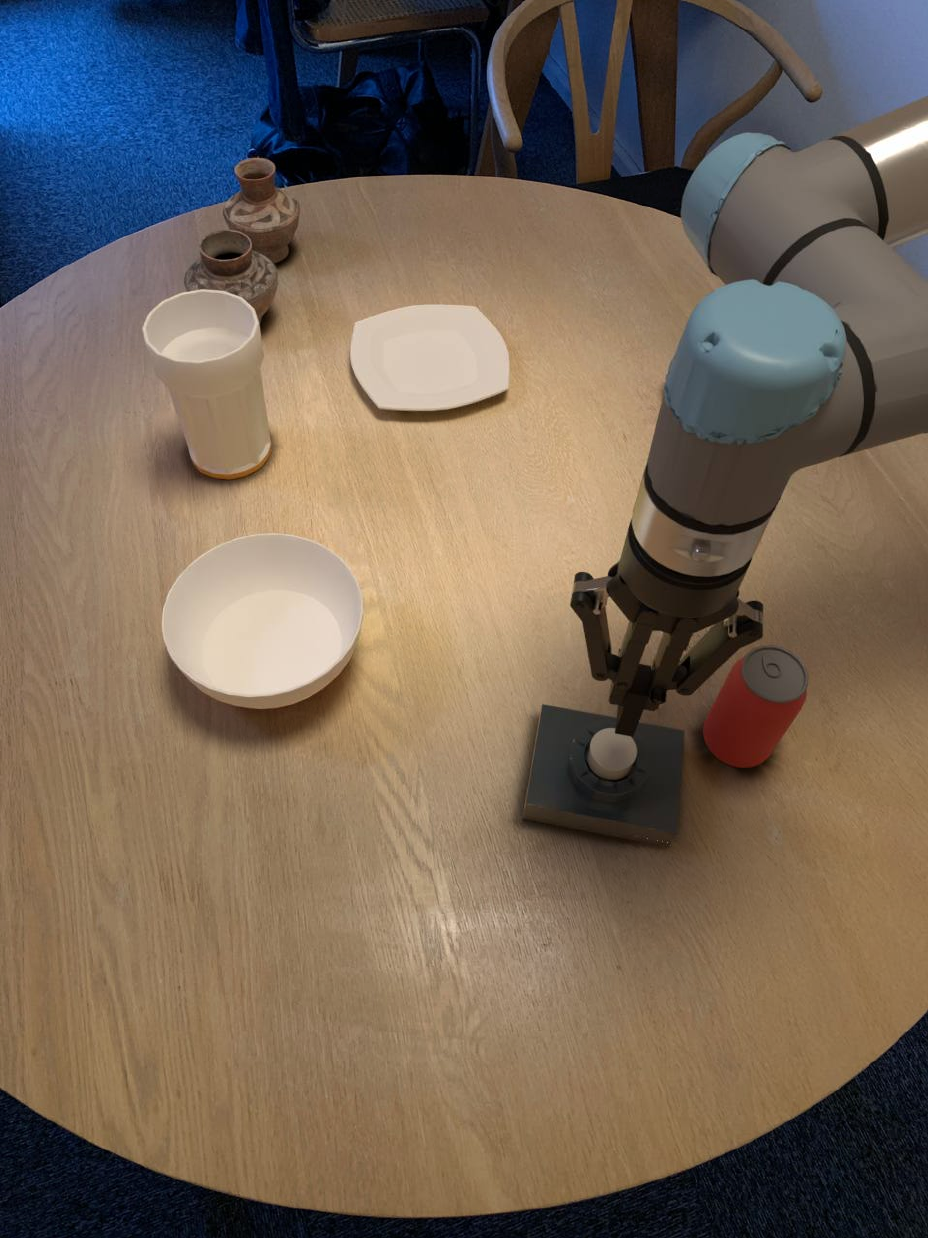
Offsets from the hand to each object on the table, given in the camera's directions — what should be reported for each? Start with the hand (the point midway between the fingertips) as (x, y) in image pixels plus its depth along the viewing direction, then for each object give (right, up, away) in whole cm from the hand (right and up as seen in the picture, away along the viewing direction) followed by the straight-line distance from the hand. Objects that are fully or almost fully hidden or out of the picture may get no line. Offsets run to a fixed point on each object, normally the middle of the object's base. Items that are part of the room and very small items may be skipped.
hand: (625, 720), depth 75 cm
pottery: (-41, +52, +48) cm, 82 cm away
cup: (-40, +27, +31) cm, 57 cm away
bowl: (-32, +5, +16) cm, 36 cm away
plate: (-17, +39, +40) cm, 59 cm away
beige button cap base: (-1, -7, +9) cm, 12 cm away
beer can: (+13, -3, +13) cm, 18 cm away
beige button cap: (0, -4, +6) cm, 7 cm away
